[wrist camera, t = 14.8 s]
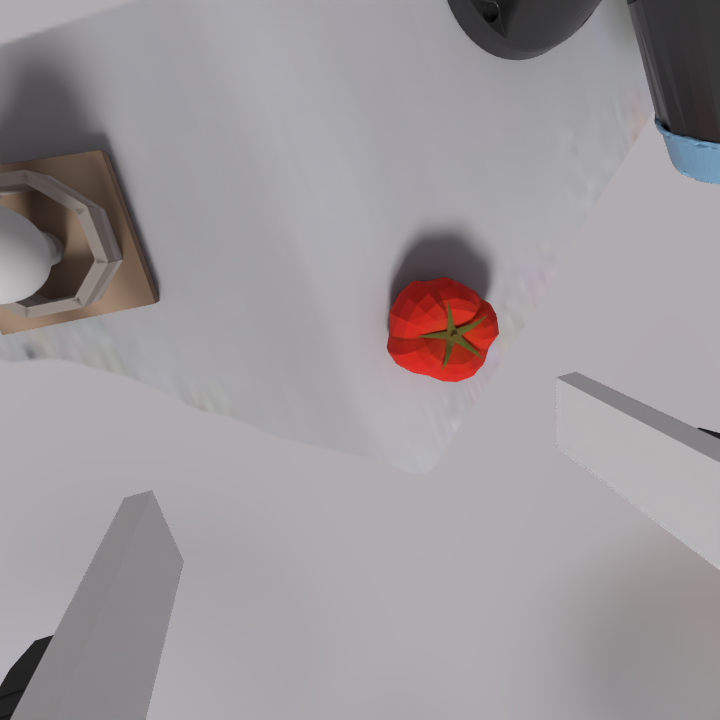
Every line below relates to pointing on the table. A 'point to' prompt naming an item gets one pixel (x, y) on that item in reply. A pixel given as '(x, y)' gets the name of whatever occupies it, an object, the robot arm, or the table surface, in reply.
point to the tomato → (441, 329)
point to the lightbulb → (24, 256)
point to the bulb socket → (76, 240)
